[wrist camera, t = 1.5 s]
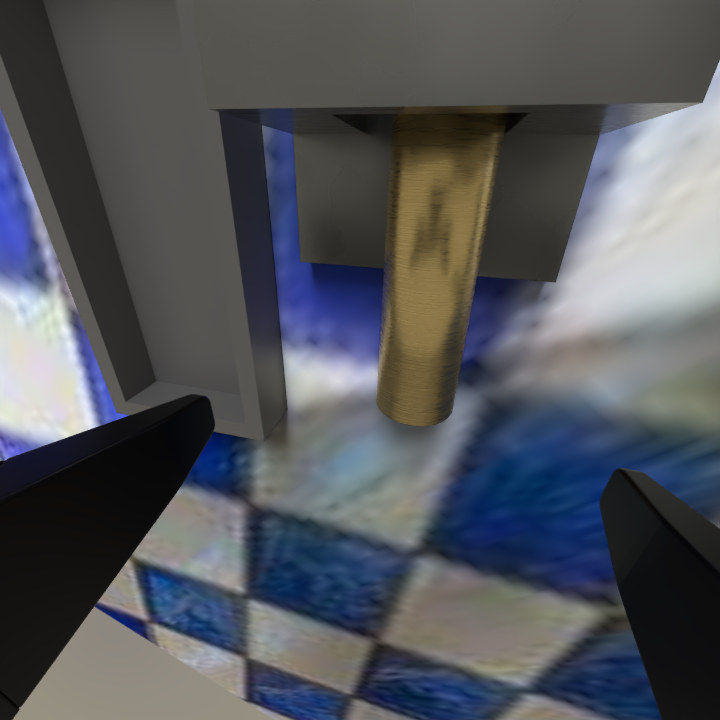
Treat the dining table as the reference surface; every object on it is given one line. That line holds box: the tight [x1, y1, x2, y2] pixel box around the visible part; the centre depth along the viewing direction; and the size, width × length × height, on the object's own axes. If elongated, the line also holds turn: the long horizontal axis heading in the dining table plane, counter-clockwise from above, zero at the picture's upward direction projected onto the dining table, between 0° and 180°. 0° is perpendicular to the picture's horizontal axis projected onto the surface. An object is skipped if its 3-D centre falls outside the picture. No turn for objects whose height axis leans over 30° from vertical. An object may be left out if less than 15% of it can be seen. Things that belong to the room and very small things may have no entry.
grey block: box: [192, 0, 720, 282], centre depth 8 cm, size 9×9×5 cm
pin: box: [377, 113, 508, 426], centre depth 10 cm, size 13×3×3 cm, turn 178°
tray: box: [0, 0, 287, 441], centre depth 13 cm, size 8×19×2 cm, turn 177°
